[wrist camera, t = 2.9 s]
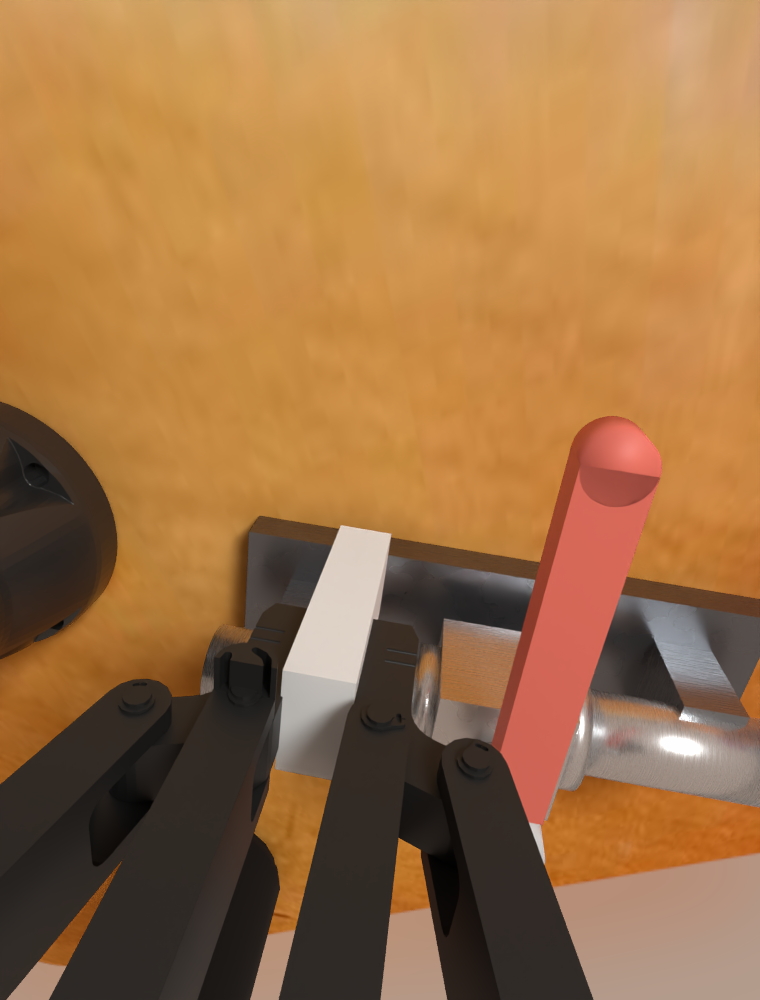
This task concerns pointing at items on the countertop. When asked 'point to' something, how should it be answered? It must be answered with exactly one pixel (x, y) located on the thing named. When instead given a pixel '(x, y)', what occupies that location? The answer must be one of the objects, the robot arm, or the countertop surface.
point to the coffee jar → (244, 928)
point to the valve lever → (574, 603)
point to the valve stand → (493, 644)
